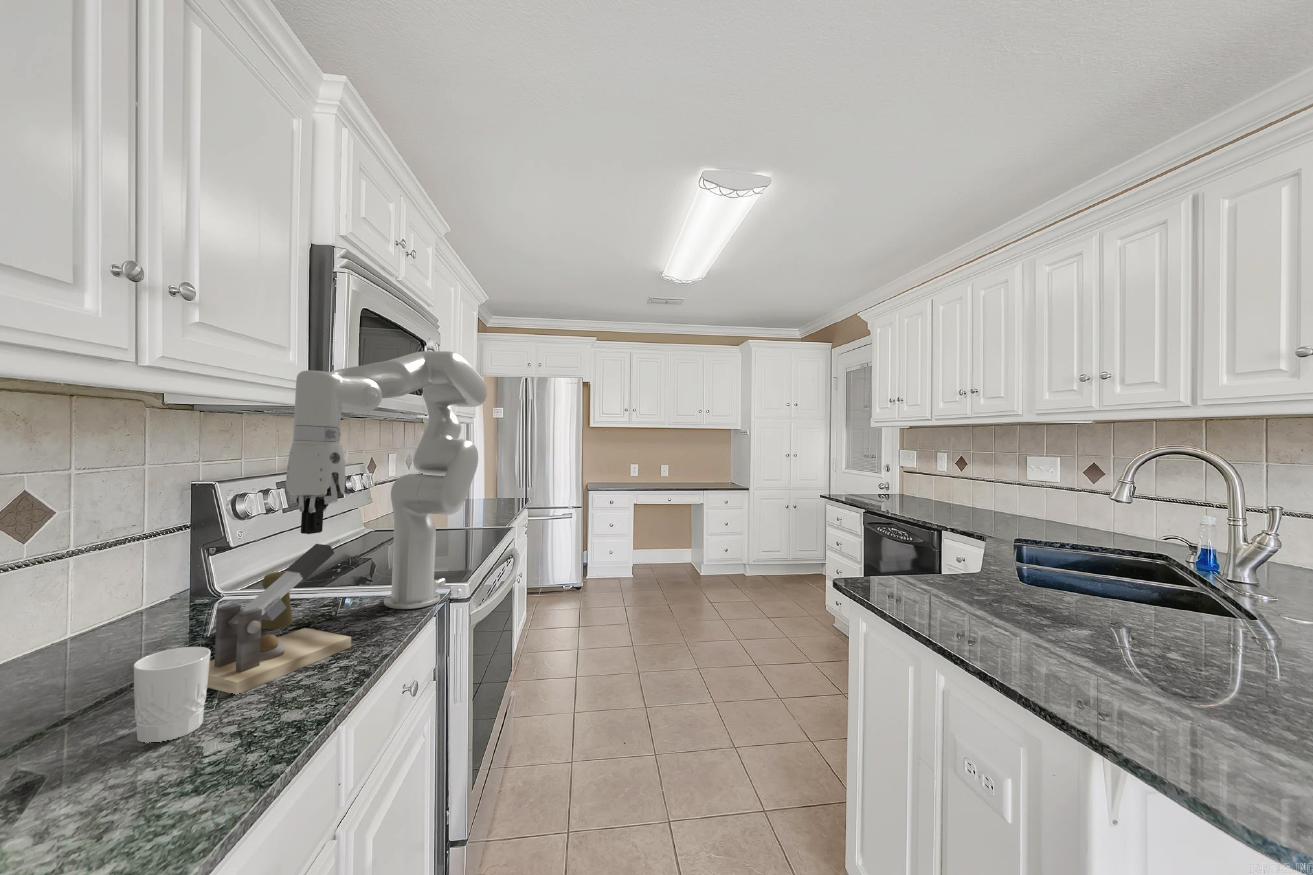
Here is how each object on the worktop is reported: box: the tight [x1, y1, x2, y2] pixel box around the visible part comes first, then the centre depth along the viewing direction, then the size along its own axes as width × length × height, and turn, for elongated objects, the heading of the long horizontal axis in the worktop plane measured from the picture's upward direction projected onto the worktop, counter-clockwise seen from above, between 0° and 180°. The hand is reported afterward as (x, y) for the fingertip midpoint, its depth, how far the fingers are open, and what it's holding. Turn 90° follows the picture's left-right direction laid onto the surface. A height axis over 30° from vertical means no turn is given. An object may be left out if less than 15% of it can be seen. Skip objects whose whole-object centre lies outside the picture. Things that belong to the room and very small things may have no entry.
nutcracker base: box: [207, 603, 352, 696], centre depth 96 cm, size 21×12×12 cm, turn 162°
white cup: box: [133, 646, 212, 744], centre depth 74 cm, size 8×8×10 cm
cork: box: [261, 571, 294, 630], centre depth 114 cm, size 6×6×11 cm
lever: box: [228, 543, 335, 629], centre depth 97 cm, size 19×4×4 cm
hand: (311, 532), depth 101 cm, fingers closed
